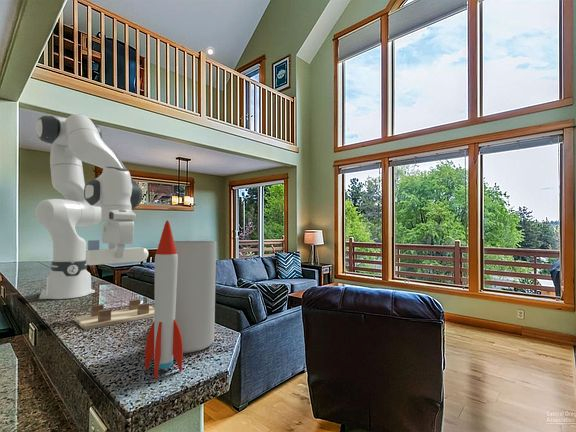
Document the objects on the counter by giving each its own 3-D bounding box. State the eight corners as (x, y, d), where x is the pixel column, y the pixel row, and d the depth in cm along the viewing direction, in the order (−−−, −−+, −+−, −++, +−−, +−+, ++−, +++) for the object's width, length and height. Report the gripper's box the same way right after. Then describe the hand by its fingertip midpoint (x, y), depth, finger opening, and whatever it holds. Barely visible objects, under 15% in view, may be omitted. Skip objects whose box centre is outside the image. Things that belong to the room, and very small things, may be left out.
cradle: (74, 320, 95) (74, 307, 96) (148, 308, 111) (148, 296, 111) (84, 329, 87) (84, 315, 87) (163, 314, 103) (163, 302, 103)
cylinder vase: (213, 333, 85) (214, 240, 86) (215, 351, 73) (217, 243, 74) (163, 337, 82) (166, 240, 83) (157, 356, 70) (160, 243, 71)
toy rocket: (182, 371, 63) (187, 220, 64) (154, 380, 59) (160, 220, 60) (171, 362, 67) (176, 221, 68) (143, 370, 63) (149, 220, 64)
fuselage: (86, 264, 100) (86, 240, 100) (145, 259, 112) (145, 238, 113) (89, 265, 96) (90, 240, 97) (150, 260, 109) (150, 238, 110)
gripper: (96, 216, 109) (96, 256, 109) (116, 213, 95) (115, 260, 94) (116, 217, 114) (116, 255, 113) (137, 214, 99) (137, 258, 99)
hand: (116, 257), depth 104 cm, fingers closed on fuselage, 4 cm apart
